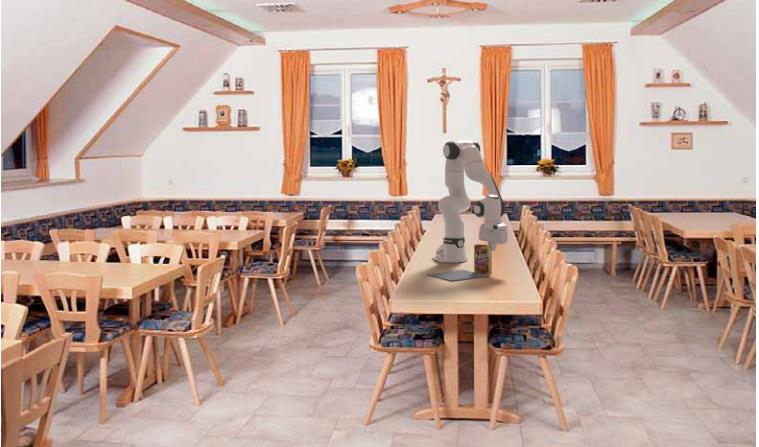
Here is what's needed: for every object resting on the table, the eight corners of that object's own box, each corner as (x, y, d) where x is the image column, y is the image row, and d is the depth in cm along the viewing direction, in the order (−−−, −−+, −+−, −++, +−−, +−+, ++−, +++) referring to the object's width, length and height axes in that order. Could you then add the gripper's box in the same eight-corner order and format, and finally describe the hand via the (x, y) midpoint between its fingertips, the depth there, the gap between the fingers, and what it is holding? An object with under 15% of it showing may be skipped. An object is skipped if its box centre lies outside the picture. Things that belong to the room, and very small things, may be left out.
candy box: (473, 272, 419) (473, 244, 417) (477, 271, 422) (477, 243, 421) (488, 274, 414) (488, 245, 412) (492, 273, 417) (492, 244, 416)
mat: (426, 275, 413) (426, 274, 412) (462, 270, 425) (462, 269, 425) (451, 281, 394) (451, 280, 394) (488, 276, 406) (488, 275, 406)
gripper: (476, 223, 426) (475, 248, 427) (500, 227, 409) (500, 253, 410) (484, 222, 429) (484, 247, 431) (509, 226, 412) (509, 252, 413)
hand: (492, 250), depth 420 cm, fingers closed
